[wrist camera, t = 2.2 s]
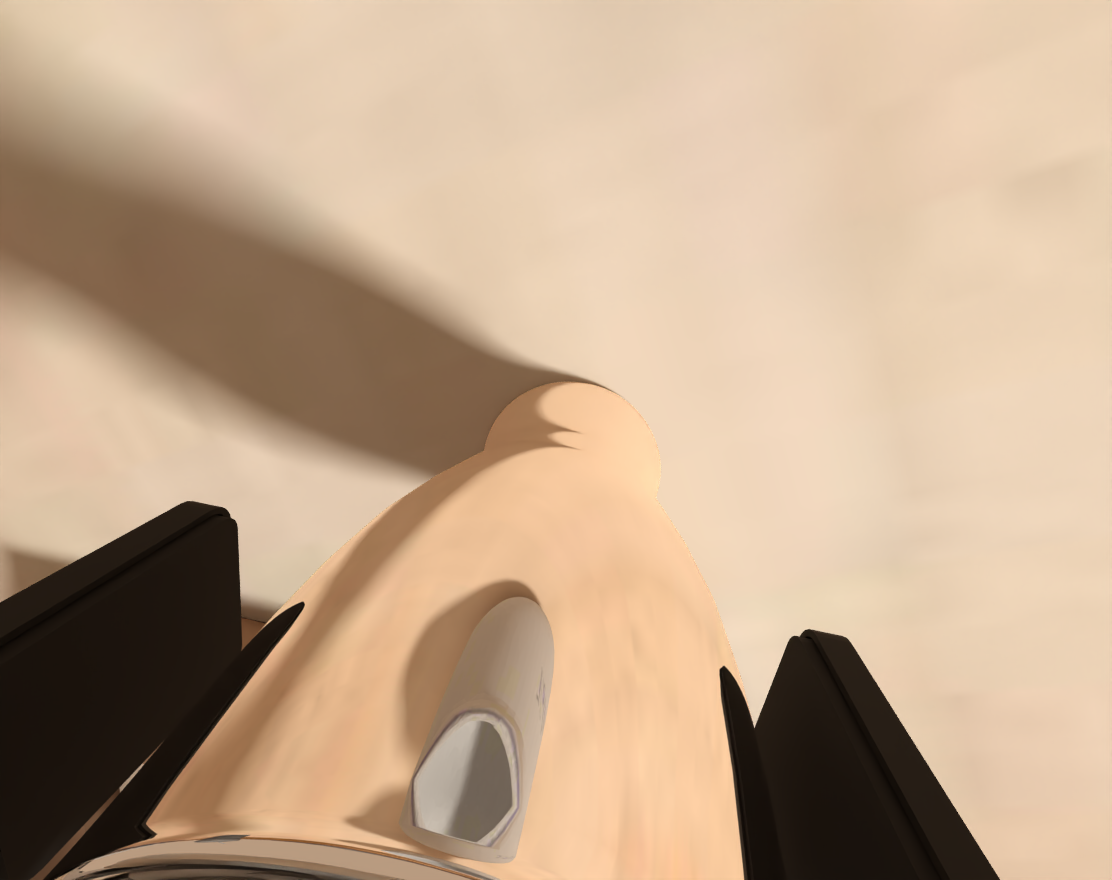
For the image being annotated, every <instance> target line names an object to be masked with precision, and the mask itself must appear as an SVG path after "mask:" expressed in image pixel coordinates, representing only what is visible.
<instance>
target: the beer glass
mask: <svg viewBox="0 0 1112 880" xmlns="http://www.w3.org/2000/svg"><path fill="white" fill-rule="evenodd" d="M660 476H661V463H660V455H659V450H658V447H657V444H656V441H655V438H654V436H653V434H652V431H651V430H650V428H649V426H648V424H647V423H646V421H645V420H644V418H643V417H642V416H641V414H640V413H639V412H638V411H637V410H636V409H635V408H634V407H633V406H632V405H631V404H630V403H628V402H627V401H626V400H625V399H623V398H622V397H620V396H619V395H617V394H615V393H613V392H611V391H609V390H607V389H605V388H602V387H599V386H596V385H593V384H589V383H583V382H573V381H565V382H555V383H549V384H545V385H542V386H539V387H536V388H533V389H531V390H529V391H527V392H525V393H523V394H522V395H520V396H519V397H517V398H516V399H514V400H513V401H512V402H511V403H510V404H509V405H507V406H506V407H505V409H504V410H503V411H502V412H501V413H500V414H499V416H498V417H497V419H496V420H495V422H494V423H493V425H492V427H491V429H490V431H489V434H488V437H487V439H486V443H485V447H484V451H482V452H480V453H478V454H476V455H474V456H472V457H470V458H468V459H466V460H464V461H462V462H460V463H458V464H457V465H455V466H453V467H451V468H449V469H447V470H445V471H443V472H441V473H439V474H438V475H436V476H434V477H433V478H431V479H430V480H428V481H427V482H425V483H424V484H422V485H420V486H419V487H417V488H416V489H414V490H413V491H411V492H410V493H408V494H407V495H405V496H404V497H402V498H401V499H399V500H397V501H396V502H394V503H393V504H391V505H390V506H389V507H387V508H386V509H385V510H383V511H382V512H381V513H380V514H379V515H377V516H376V517H375V518H374V519H373V520H372V521H371V522H369V523H368V524H367V525H366V526H365V527H364V528H363V529H361V530H360V531H359V532H358V533H357V534H356V535H355V536H353V537H352V538H351V539H350V540H349V541H348V542H347V543H345V544H344V545H343V546H342V547H341V548H340V549H339V550H338V551H336V552H335V553H334V554H333V555H332V556H331V557H330V558H329V559H327V560H326V561H325V562H324V563H323V564H322V565H321V566H320V567H319V568H318V569H317V571H316V572H315V573H314V574H313V575H312V576H311V577H310V578H309V579H308V580H307V581H306V582H305V583H304V584H303V585H302V586H301V587H300V588H299V589H298V590H297V591H296V592H295V593H294V594H293V595H292V597H291V598H290V599H289V600H288V601H287V602H286V603H285V604H284V605H283V606H282V607H281V608H280V609H279V610H278V611H277V612H276V613H275V614H274V615H273V616H272V617H271V618H270V619H269V620H268V622H267V623H266V624H265V625H264V626H263V627H262V628H261V629H260V630H259V631H258V633H257V634H256V635H255V636H254V637H253V638H252V639H251V641H250V642H249V643H248V644H247V645H246V646H245V647H244V648H243V650H242V651H241V652H240V653H239V654H238V655H237V656H236V658H235V659H234V660H233V661H232V662H231V663H230V664H229V666H228V667H227V668H226V669H225V670H224V671H223V672H222V674H221V675H220V676H219V677H218V678H217V679H216V680H215V682H214V683H213V684H212V685H211V686H210V687H209V688H208V690H207V691H206V692H205V693H204V694H203V695H202V696H201V698H200V699H199V700H198V701H197V702H196V703H195V705H194V706H193V707H192V708H191V709H190V710H189V712H188V713H187V714H186V715H185V716H184V718H183V719H182V720H181V721H180V722H179V724H178V725H177V726H176V727H175V728H174V729H173V731H172V732H171V733H170V734H169V735H168V737H167V738H166V739H165V740H164V741H163V743H162V744H161V745H160V746H159V747H158V749H157V750H156V751H155V752H154V753H153V754H152V756H151V757H150V758H149V759H148V760H147V762H146V763H145V764H144V765H143V766H142V768H141V769H140V770H139V771H138V772H137V773H136V775H135V776H134V777H133V778H132V779H131V781H130V782H129V783H128V784H127V785H126V786H125V788H124V789H123V790H122V791H121V792H120V793H119V794H118V796H117V797H116V798H115V799H114V800H113V801H112V803H111V804H110V805H109V806H108V807H107V808H106V809H105V811H104V812H103V813H102V814H101V815H100V816H99V817H98V819H97V820H96V821H95V822H94V823H93V824H92V826H91V827H90V828H89V829H88V830H87V831H86V832H85V834H84V835H83V836H82V837H81V838H80V839H79V840H78V842H77V843H76V844H75V845H74V846H73V847H72V848H71V850H70V851H69V852H68V853H67V854H66V855H65V856H64V857H63V858H62V859H61V860H60V862H59V863H58V864H57V865H56V866H55V867H54V868H53V869H52V870H51V871H50V872H49V874H48V875H47V876H46V877H45V878H44V879H43V880H787V875H786V870H785V865H784V860H783V855H782V851H781V846H780V841H779V836H778V831H777V826H776V822H775V817H774V812H773V807H772V802H771V797H770V793H769V788H768V783H767V778H766V773H765V769H764V765H763V761H762V757H761V753H760V749H759V745H758V741H757V737H756V733H755V729H754V725H753V721H752V718H751V714H750V710H749V706H748V702H747V698H746V694H745V690H744V686H743V683H742V679H741V676H740V673H739V670H738V667H737V664H736V661H735V658H734V655H733V652H732V649H731V647H730V644H729V641H728V638H727V635H726V632H725V629H724V626H723V623H722V620H721V618H720V615H719V612H718V609H717V606H716V603H715V601H714V599H713V596H712V594H711V592H710V590H709V588H708V586H707V584H706V582H705V580H704V578H703V576H702V575H701V573H700V571H699V569H698V567H697V565H696V563H695V561H694V559H693V557H692V555H691V553H690V551H689V549H688V547H687V545H686V544H685V542H684V540H683V539H682V537H681V535H680V534H679V532H678V531H677V529H676V528H675V526H674V525H673V523H672V521H671V520H670V518H669V517H668V515H667V514H666V512H665V511H664V509H663V508H662V506H661V505H660V503H659V502H658V500H657V499H656V496H657V492H658V488H659V484H660Z"/></svg>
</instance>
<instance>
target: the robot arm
mask: <svg viewBox="0 0 1112 880" xmlns="http://www.w3.org/2000/svg"><path fill="white" fill-rule="evenodd" d="M241 650H242V625H241V600H240V575H239V550H238V527H237V523H236V521H235V520H234V519H232V518H231V517H230V514H229V512H228V510H226V509H225V508H223V507H218V506H213V505H208V504H204V503H199V502H194V501H187V502H184V503H181V504H180V505H178V506H176V507H174V508H172V509H170V510H169V511H167V512H165V513H163V514H161V515H159V516H158V517H156V518H154V519H152V520H150V521H148V522H147V523H145V524H143V525H141V526H139V527H137V528H136V529H134V530H132V531H130V532H128V533H127V534H125V535H123V536H121V537H119V538H117V539H116V540H114V541H112V542H110V543H108V544H106V545H105V546H103V547H101V548H99V549H97V550H95V551H94V552H92V553H90V554H88V555H86V556H84V557H83V558H81V559H79V560H77V561H75V562H73V563H72V564H70V565H68V566H66V567H64V568H63V569H61V570H59V571H57V572H55V573H53V574H52V575H50V576H48V577H46V578H44V579H42V580H41V581H39V582H37V583H35V584H33V585H31V586H30V587H28V588H26V589H24V590H22V591H20V592H19V593H17V594H15V595H13V596H11V597H10V598H8V599H6V600H4V601H2V602H0V880H30V879H31V878H33V877H34V876H35V875H36V874H37V873H38V872H39V871H41V870H42V869H43V868H44V867H45V866H46V864H47V863H48V862H49V861H50V860H51V859H52V858H53V857H54V856H55V855H56V854H57V853H58V852H59V851H60V850H61V849H62V848H63V847H64V846H65V844H66V843H67V842H68V841H69V840H70V839H71V838H72V837H73V836H74V835H75V834H76V833H77V832H78V831H79V830H80V829H81V828H82V827H83V826H84V824H85V823H86V822H87V821H88V820H89V819H90V818H91V817H92V816H93V815H94V814H95V813H96V812H97V811H98V810H99V809H100V808H101V807H102V806H103V804H104V803H105V802H106V801H107V800H108V799H109V798H110V797H111V796H112V795H113V794H114V793H115V792H116V791H117V790H118V789H119V788H120V787H121V786H122V784H123V783H124V782H125V781H126V780H127V779H128V778H129V777H130V776H131V775H132V774H133V773H134V772H135V771H136V770H137V769H138V768H139V767H140V766H141V764H142V763H143V762H144V761H145V760H146V759H147V758H148V757H149V756H150V755H151V754H152V753H153V752H154V751H155V750H156V749H157V748H158V747H159V746H160V744H161V743H162V742H163V741H164V740H165V739H166V738H167V737H168V735H169V734H170V733H171V732H172V731H173V729H174V728H175V727H176V726H177V725H178V724H179V722H180V721H181V720H182V719H183V718H184V716H185V715H186V714H187V713H188V712H189V710H190V709H191V708H192V707H193V706H194V705H195V703H196V702H197V701H198V700H199V699H200V698H201V696H202V695H203V694H204V693H205V692H206V691H207V690H208V688H209V687H210V686H211V685H212V684H213V683H214V682H215V680H216V679H217V678H218V677H219V676H220V675H221V674H222V672H223V671H224V670H225V669H226V668H227V667H228V666H229V664H230V663H231V662H232V661H233V660H234V659H235V658H236V656H237V655H238V654H239V653H240V652H241ZM754 729H755V733H756V737H757V741H758V745H759V749H760V753H761V757H762V761H763V765H764V769H765V773H766V778H767V783H768V788H769V793H770V797H771V802H772V807H773V812H774V817H775V822H776V826H777V831H778V836H779V841H780V846H781V851H782V855H783V860H784V865H785V870H786V875H787V880H1000V879H999V877H998V876H997V874H996V873H995V871H994V869H993V868H992V866H991V865H990V863H989V861H988V860H987V858H986V857H985V855H984V854H983V852H982V850H981V849H980V847H979V846H978V844H977V842H976V841H975V839H974V838H973V836H972V834H971V833H970V831H969V830H968V828H967V826H966V825H965V823H964V822H963V820H962V819H961V817H960V815H959V814H958V812H957V811H956V809H955V807H954V806H953V804H952V803H951V801H950V799H949V798H948V796H947V795H946V793H945V792H944V790H943V788H942V787H941V785H940V784H939V782H938V780H937V779H936V777H935V776H934V774H933V772H932V771H931V769H930V768H929V766H928V764H927V763H926V761H925V760H924V758H923V757H922V755H921V753H920V752H919V750H918V749H917V747H916V745H915V744H914V742H913V741H912V739H911V737H910V736H909V734H908V733H907V731H906V730H905V728H904V726H903V725H902V723H901V722H900V720H899V718H898V717H897V715H896V714H895V712H894V710H893V709H892V707H891V706H890V704H889V702H888V701H887V699H886V698H885V696H884V695H883V693H882V691H881V690H880V688H879V687H878V685H877V683H876V682H875V680H874V679H873V677H872V675H871V674H870V672H869V671H868V669H867V668H866V666H865V664H864V663H863V661H862V660H861V658H860V656H859V655H858V653H857V652H856V650H855V648H854V647H853V645H852V644H851V642H850V641H849V640H848V639H847V638H845V637H843V636H839V635H834V634H830V633H825V632H820V631H815V630H810V629H808V630H805V631H804V632H803V633H802V634H801V635H800V637H799V636H793V637H791V638H790V640H789V642H788V644H787V646H786V649H785V652H784V654H783V657H782V659H781V662H780V664H779V667H778V669H777V672H776V675H775V677H774V680H773V682H772V685H771V687H770V690H769V693H768V695H767V698H766V700H765V703H764V705H763V708H762V711H761V713H760V716H759V718H758V721H757V723H756V726H755V728H754Z"/></svg>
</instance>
